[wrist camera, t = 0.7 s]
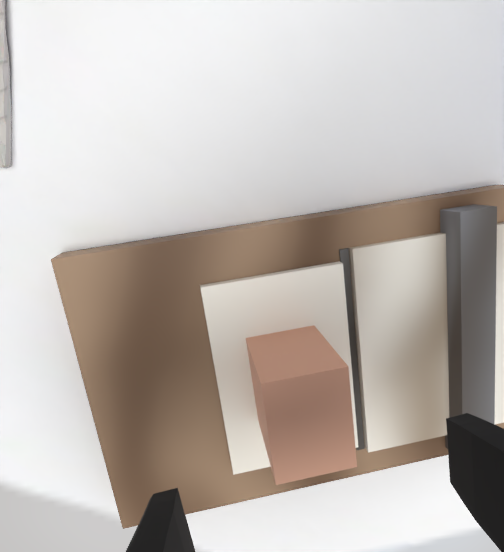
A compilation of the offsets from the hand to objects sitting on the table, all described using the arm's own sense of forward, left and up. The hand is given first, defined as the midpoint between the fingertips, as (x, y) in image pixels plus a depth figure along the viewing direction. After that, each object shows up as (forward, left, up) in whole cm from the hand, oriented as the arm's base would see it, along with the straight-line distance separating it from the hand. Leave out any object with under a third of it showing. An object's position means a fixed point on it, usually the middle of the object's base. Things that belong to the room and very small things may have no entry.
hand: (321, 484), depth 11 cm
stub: (-1, +1, -8) cm, 8 cm away
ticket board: (-2, +1, -9) cm, 10 cm away
